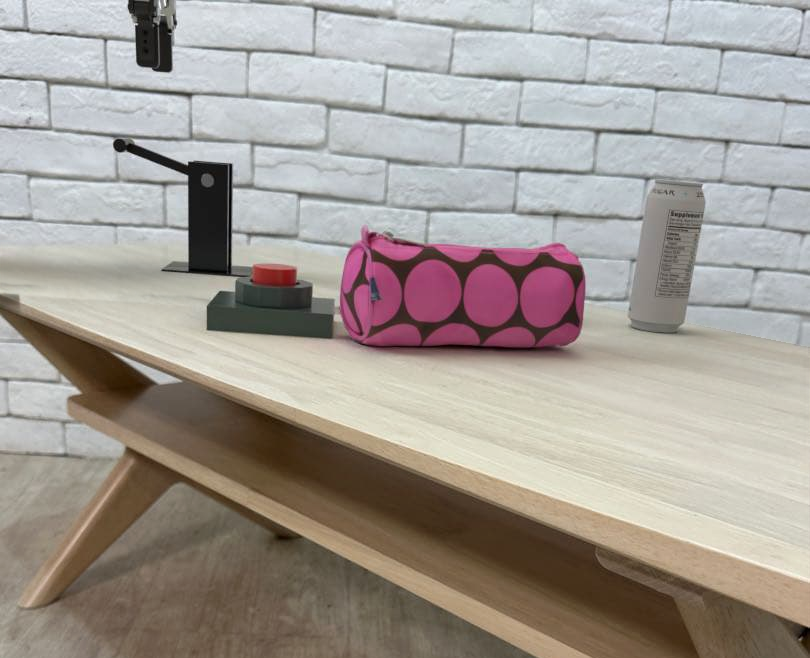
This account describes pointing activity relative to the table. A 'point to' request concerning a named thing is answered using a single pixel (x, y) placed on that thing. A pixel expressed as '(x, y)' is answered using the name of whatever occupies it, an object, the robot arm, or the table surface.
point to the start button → (274, 274)
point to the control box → (272, 310)
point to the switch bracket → (210, 222)
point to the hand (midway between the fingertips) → (155, 69)
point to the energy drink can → (666, 255)
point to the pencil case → (460, 294)
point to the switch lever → (148, 155)
